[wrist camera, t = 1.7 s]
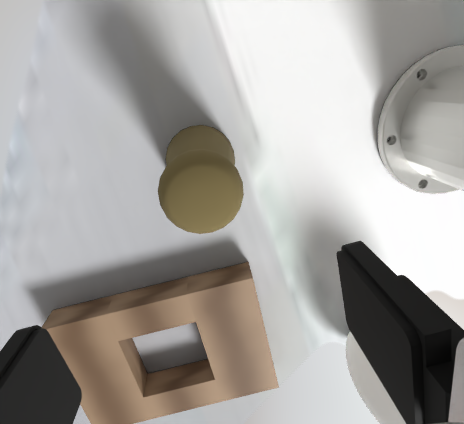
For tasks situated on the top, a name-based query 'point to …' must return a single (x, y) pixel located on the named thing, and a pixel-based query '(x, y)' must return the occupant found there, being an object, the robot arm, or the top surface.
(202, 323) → the tan flat frame
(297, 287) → the top surface
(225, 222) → the cork
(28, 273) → the top surface
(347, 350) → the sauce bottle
